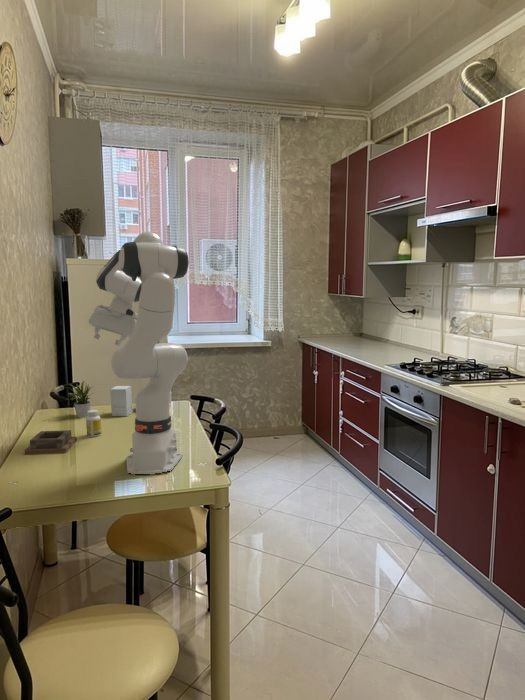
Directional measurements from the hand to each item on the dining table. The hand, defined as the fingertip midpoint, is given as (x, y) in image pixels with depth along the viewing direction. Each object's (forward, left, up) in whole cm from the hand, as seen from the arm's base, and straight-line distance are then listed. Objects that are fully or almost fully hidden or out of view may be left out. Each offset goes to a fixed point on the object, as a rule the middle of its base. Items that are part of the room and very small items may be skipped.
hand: (106, 341), depth 197 cm
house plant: (+25, +18, -36) cm, 48 cm away
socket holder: (-19, +17, -36) cm, 44 cm away
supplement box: (+25, 0, -36) cm, 44 cm away
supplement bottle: (-6, +5, -36) cm, 37 cm away
